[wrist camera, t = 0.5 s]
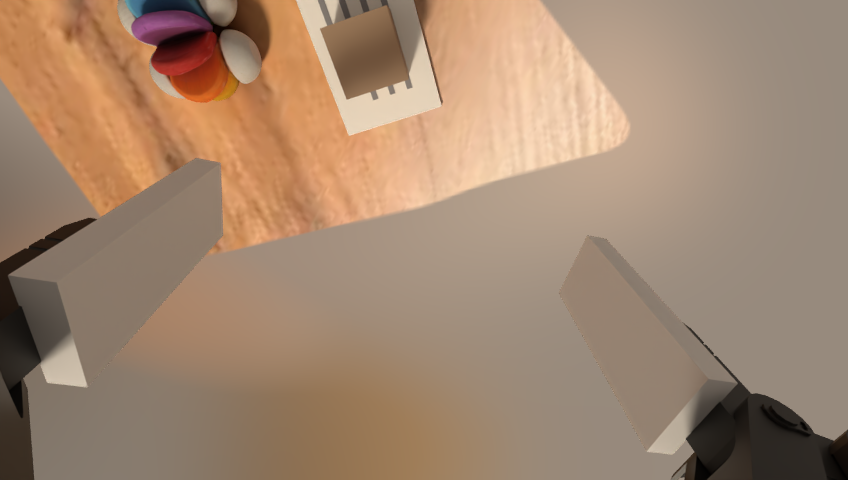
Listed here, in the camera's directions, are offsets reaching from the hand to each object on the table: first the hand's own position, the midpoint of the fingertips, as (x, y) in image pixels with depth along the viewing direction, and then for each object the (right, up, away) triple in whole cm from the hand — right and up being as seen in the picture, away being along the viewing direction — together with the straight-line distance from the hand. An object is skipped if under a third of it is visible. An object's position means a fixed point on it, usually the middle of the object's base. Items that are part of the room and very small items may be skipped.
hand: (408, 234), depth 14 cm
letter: (-4, +16, +19) cm, 25 cm away
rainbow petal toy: (-18, +17, +18) cm, 30 cm away
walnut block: (-4, +16, +18) cm, 25 cm away
